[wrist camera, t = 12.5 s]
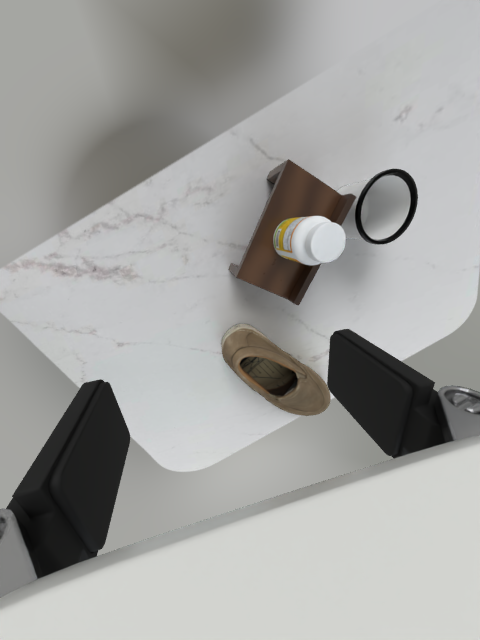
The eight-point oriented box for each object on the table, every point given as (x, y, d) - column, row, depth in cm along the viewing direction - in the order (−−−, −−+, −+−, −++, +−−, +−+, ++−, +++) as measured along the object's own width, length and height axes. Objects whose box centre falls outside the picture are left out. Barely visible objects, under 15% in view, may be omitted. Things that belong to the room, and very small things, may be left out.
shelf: (228, 269, 39) (239, 280, 31) (269, 171, 35) (295, 154, 27) (277, 290, 42) (298, 305, 34) (320, 203, 38) (356, 196, 30)
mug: (332, 251, 42) (367, 257, 34) (314, 200, 38) (349, 192, 30) (388, 215, 42) (438, 213, 34) (376, 160, 38) (429, 142, 30)
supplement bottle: (314, 242, 33) (360, 247, 25) (285, 266, 34) (320, 280, 25) (296, 209, 31) (339, 202, 22) (264, 235, 32) (295, 238, 23)
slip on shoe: (331, 387, 54) (356, 415, 46) (295, 417, 56) (314, 450, 48) (251, 305, 42) (266, 323, 34) (208, 346, 44) (213, 373, 36)
